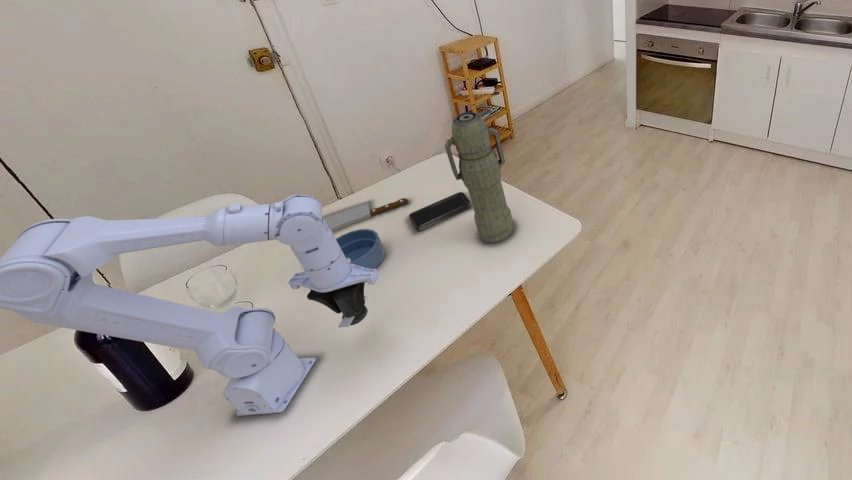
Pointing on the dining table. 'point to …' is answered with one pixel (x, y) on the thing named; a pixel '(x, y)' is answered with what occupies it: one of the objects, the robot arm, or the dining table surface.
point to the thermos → (481, 175)
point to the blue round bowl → (362, 247)
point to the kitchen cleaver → (358, 214)
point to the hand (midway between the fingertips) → (351, 308)
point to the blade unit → (349, 311)
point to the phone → (439, 211)
